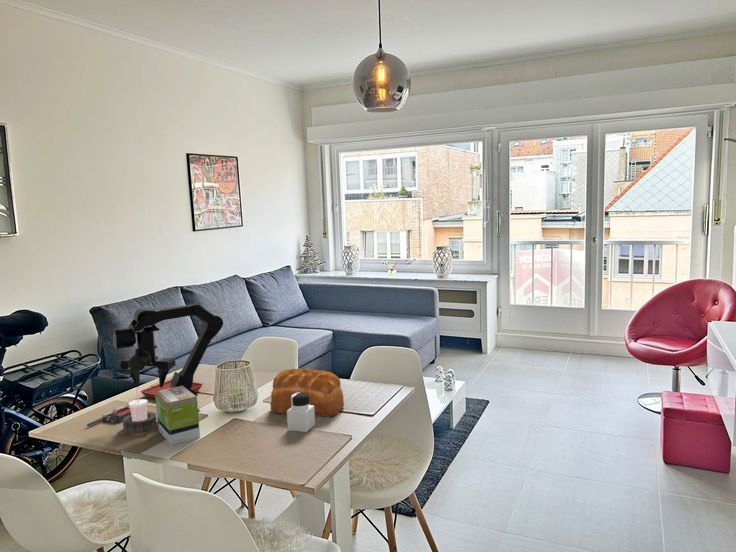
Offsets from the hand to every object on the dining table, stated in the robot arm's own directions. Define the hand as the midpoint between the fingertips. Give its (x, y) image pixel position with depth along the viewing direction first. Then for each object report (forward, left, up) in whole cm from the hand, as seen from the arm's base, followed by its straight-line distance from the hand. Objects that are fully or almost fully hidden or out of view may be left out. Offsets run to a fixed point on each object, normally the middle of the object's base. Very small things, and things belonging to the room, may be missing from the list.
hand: (149, 386), depth 203 cm
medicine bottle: (-56, 0, -13) cm, 58 cm away
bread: (-53, -18, -13) cm, 57 cm away
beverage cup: (0, +7, -12) cm, 14 cm away
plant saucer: (+9, -30, -14) cm, 34 cm away
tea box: (-16, +10, -13) cm, 23 cm away
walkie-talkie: (+15, -1, -14) cm, 20 cm away
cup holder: (0, +7, -13) cm, 15 cm away
